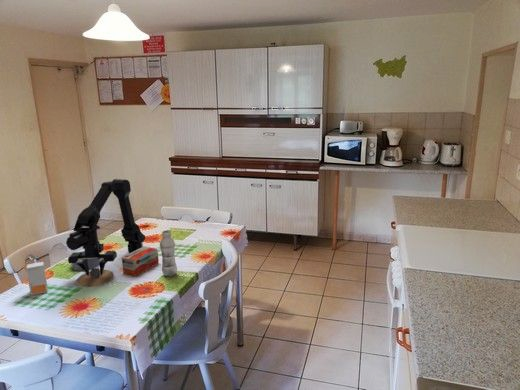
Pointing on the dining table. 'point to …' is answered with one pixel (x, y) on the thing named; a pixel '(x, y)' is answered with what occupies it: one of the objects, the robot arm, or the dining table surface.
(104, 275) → the walnut lid
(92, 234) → the robot arm
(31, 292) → the skincare box
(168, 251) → the plastic bottle
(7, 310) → the dining table surface
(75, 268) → the slate bowl
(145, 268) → the red printed carton
